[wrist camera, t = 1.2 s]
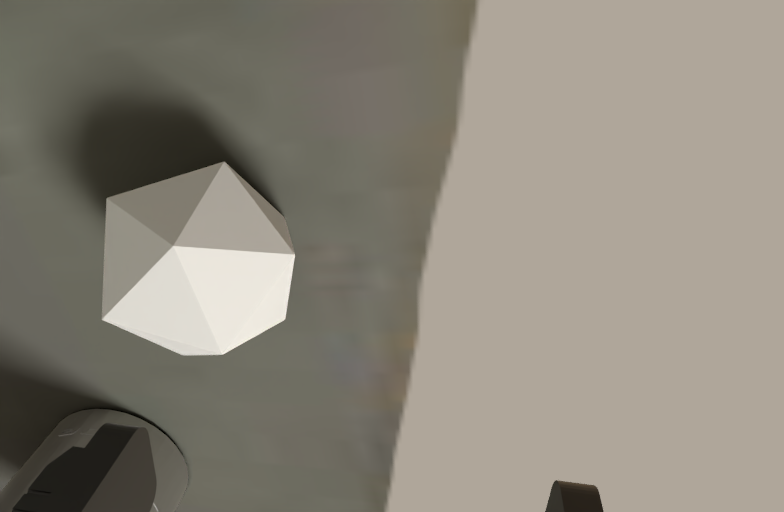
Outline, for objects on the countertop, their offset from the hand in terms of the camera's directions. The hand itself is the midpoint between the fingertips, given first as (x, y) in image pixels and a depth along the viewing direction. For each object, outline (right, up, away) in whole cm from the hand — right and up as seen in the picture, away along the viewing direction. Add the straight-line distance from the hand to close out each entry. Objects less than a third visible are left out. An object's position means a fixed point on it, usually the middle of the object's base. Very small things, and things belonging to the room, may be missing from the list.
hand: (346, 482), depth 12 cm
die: (-7, +6, +19) cm, 21 cm away
